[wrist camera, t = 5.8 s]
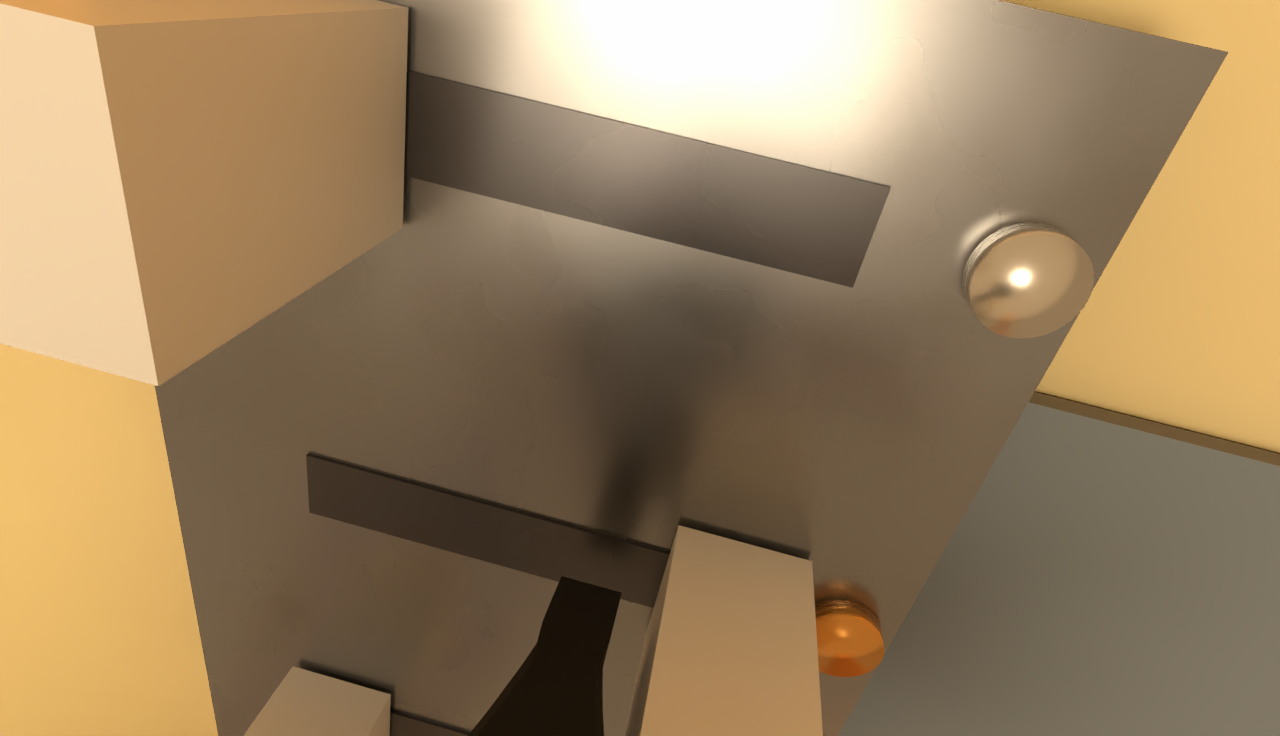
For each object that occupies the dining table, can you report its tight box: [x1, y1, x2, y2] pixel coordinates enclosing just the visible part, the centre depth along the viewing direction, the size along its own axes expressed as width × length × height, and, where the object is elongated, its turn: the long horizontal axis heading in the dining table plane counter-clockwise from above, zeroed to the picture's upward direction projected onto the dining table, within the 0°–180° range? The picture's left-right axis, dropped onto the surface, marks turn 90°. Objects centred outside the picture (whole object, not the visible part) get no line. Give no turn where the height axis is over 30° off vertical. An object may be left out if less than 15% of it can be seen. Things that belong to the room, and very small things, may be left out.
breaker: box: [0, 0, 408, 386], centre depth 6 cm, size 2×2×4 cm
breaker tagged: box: [625, 525, 823, 736], centre depth 9 cm, size 2×2×4 cm
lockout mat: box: [838, 392, 1280, 736], centre depth 12 cm, size 8×8×1 cm
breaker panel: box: [155, 0, 1228, 736], centre depth 12 cm, size 17×12×2 cm
